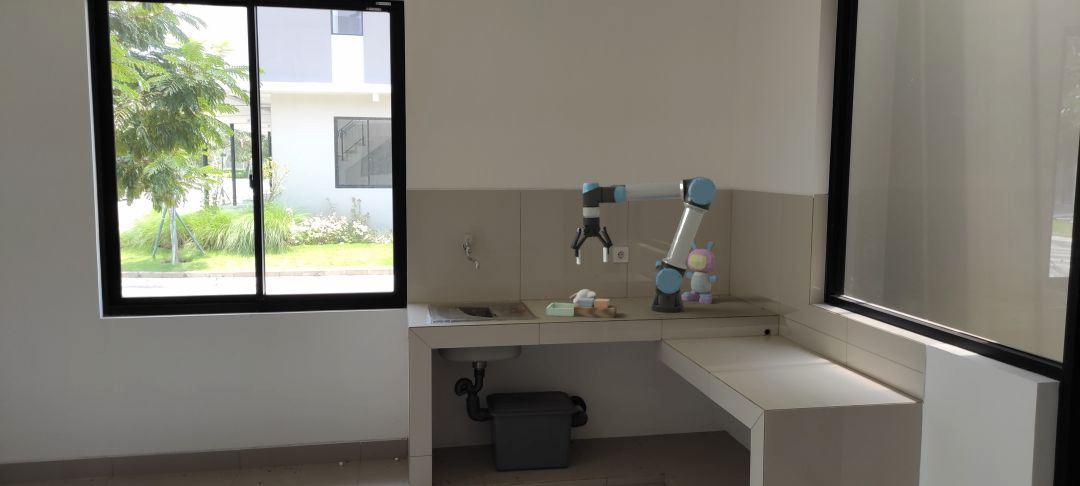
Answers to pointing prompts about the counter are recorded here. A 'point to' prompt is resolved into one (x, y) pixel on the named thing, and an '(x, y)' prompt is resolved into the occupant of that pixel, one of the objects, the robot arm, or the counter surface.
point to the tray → (560, 309)
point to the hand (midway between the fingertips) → (592, 263)
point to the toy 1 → (583, 295)
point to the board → (595, 311)
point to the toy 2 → (700, 274)
